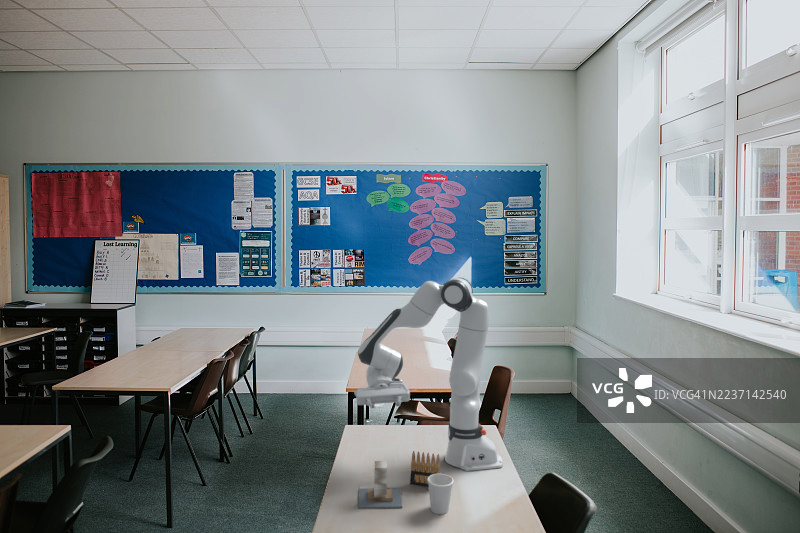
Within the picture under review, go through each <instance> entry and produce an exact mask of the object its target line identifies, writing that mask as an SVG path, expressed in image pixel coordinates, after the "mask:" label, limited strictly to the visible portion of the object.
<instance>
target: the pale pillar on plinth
mask: <svg viewBox="0 0 800 533" xmlns="http://www.w3.org/2000/svg"><path fill="white" fill-rule="evenodd" d="M373 469H374V470H373V472H374V473H373V474H374V476H373V479H374V480H373V481H374V482H373V484H374V485H373V488H374V489H368V502H393V497H392V489H387V488H388V487H387V486H388V483H387V480H388V464H387V460H374V468H373Z"/></svg>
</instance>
